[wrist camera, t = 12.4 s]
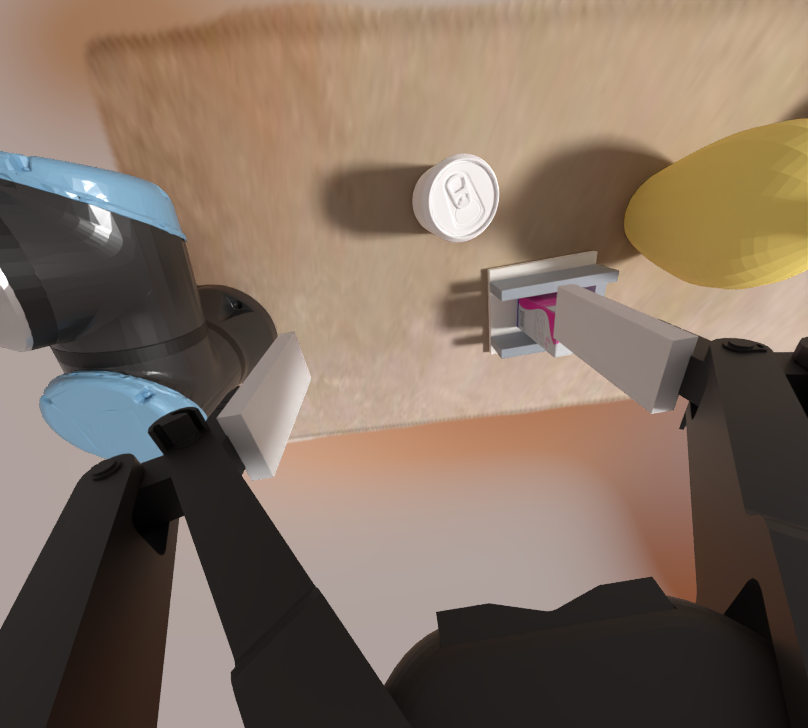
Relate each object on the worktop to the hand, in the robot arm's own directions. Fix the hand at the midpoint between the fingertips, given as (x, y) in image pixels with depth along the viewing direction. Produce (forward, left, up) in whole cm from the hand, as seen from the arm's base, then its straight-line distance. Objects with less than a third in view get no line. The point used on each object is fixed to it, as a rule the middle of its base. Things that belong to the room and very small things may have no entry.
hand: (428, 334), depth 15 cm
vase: (+38, -1, -32) cm, 50 cm away
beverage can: (+7, +5, -32) cm, 33 cm away
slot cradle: (+21, -12, -32) cm, 40 cm away
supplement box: (+20, -12, -31) cm, 39 cm away
